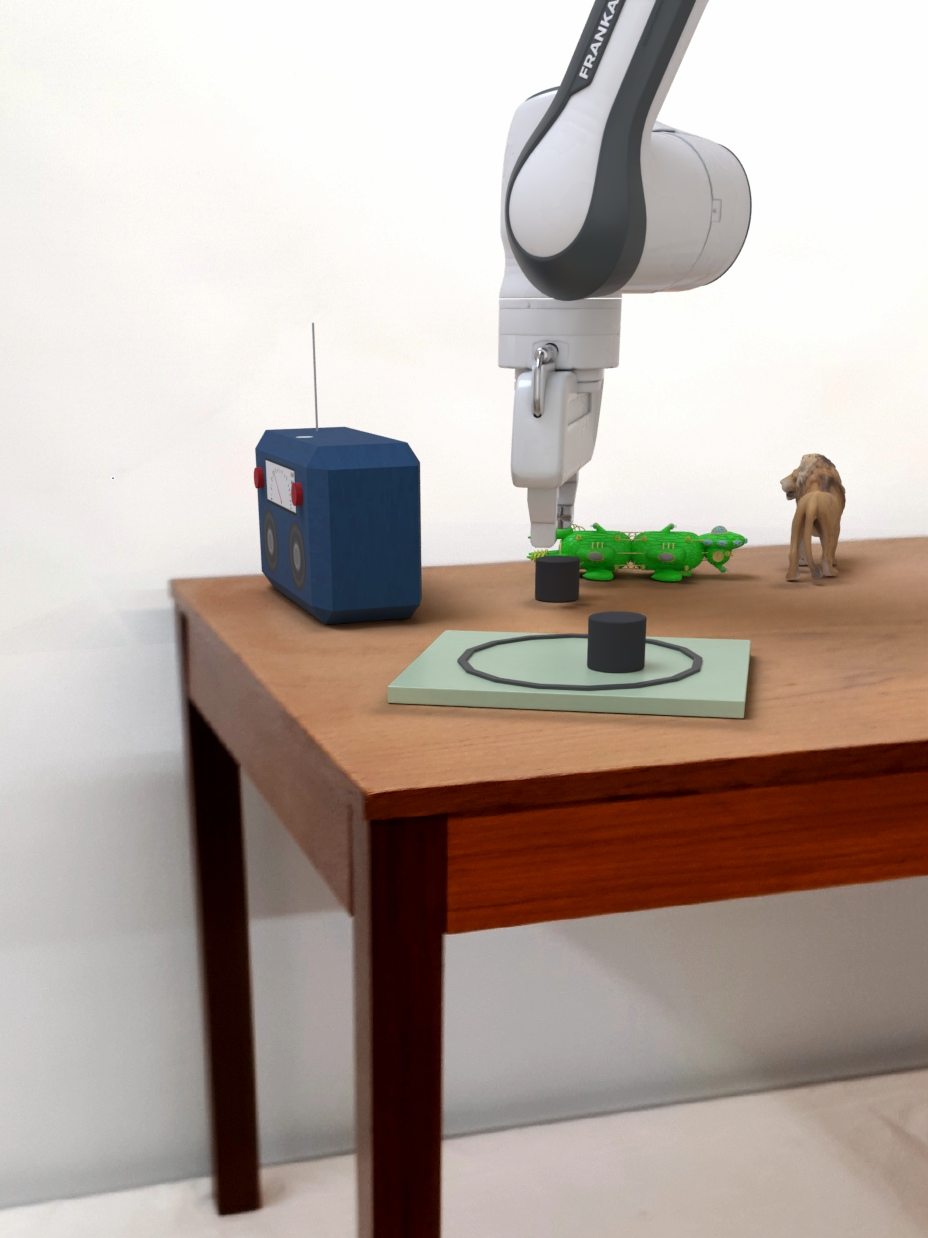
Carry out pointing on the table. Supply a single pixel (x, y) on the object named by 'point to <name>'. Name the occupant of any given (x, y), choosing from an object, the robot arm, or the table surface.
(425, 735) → the table surface
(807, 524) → the lion figurine
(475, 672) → the board
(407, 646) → the table surface
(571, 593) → the eye dot
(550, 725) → the table surface
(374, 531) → the radio
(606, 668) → the eye dot
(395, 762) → the table surface
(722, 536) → the green toy spaceship
